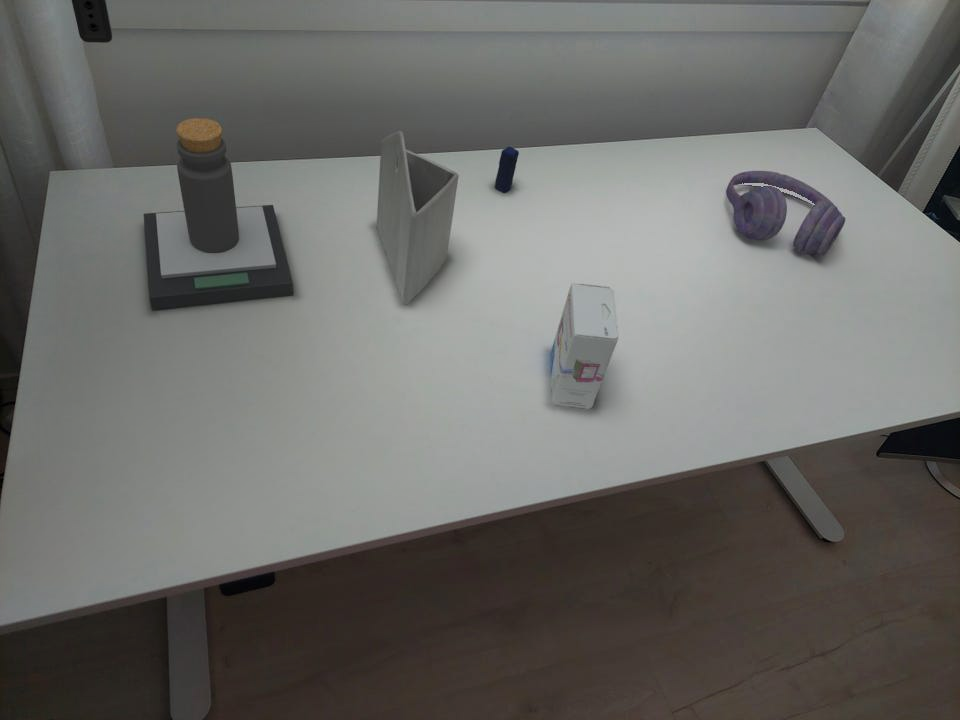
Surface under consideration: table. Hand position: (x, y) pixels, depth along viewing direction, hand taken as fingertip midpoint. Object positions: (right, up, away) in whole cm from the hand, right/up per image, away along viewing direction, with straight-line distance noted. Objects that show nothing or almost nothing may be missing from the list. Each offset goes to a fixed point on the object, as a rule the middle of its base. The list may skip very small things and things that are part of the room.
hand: (96, 16), depth 57 cm
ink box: (+41, -30, +28) cm, 58 cm away
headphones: (+79, -5, +60) cm, 99 cm away
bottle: (-2, -12, +32) cm, 34 cm away
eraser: (+34, -1, +54) cm, 64 cm away
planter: (+22, -14, +39) cm, 47 cm away
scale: (-2, -15, +33) cm, 36 cm away
